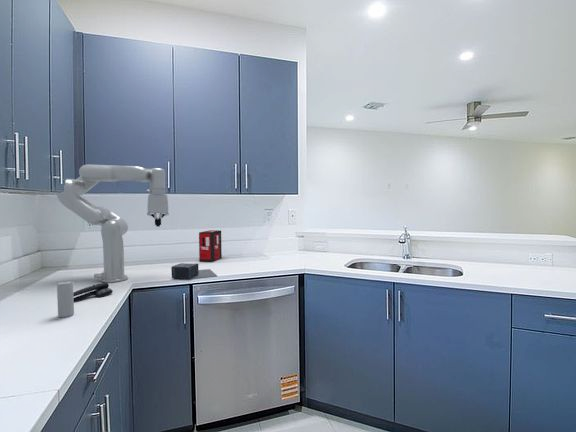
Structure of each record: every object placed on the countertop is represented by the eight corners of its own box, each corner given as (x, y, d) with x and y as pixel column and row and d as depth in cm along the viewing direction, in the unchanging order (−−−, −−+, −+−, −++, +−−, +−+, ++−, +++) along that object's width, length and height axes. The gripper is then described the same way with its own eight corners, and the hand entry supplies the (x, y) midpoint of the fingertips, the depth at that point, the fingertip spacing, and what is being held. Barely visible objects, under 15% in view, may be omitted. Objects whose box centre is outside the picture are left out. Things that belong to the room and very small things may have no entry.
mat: (182, 279, 176) (182, 279, 176) (178, 272, 194) (178, 271, 194) (217, 276, 184) (217, 275, 184) (209, 269, 202) (209, 269, 202)
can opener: (105, 292, 153) (105, 280, 153) (114, 294, 150) (114, 282, 149) (62, 302, 138) (62, 289, 138) (70, 305, 135) (70, 291, 134)
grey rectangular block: (55, 316, 120) (53, 283, 120) (68, 312, 125) (67, 280, 124) (63, 318, 119) (62, 284, 118) (77, 314, 123) (76, 281, 122)
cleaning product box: (211, 262, 226) (211, 232, 225) (199, 262, 228) (198, 232, 227) (221, 258, 242) (221, 230, 241) (210, 258, 244) (209, 230, 243)
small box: (171, 278, 178) (189, 279, 175) (170, 266, 177) (189, 266, 175) (181, 274, 188) (199, 274, 186) (181, 262, 188) (198, 263, 185)
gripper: (142, 191, 172) (142, 227, 173) (173, 191, 178) (173, 226, 179) (142, 191, 179) (142, 226, 180) (171, 192, 185) (172, 225, 186)
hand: (158, 226), depth 179 cm, fingers closed
